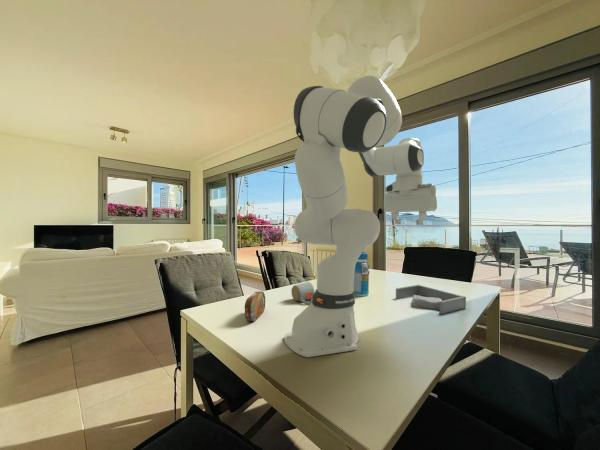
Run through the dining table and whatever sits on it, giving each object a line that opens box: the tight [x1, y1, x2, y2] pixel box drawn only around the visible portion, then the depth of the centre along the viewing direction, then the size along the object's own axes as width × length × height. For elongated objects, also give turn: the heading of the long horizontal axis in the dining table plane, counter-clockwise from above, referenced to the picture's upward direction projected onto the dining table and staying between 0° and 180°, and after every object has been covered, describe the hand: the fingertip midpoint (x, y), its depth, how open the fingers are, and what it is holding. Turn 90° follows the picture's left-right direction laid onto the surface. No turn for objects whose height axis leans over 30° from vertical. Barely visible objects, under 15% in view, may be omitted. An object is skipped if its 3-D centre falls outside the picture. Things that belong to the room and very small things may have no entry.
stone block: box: [411, 295, 442, 311], centre depth 111 cm, size 12×5×10 cm
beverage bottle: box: [353, 251, 370, 297], centre depth 127 cm, size 8×8×20 cm
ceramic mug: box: [291, 281, 315, 305], centre depth 115 cm, size 11×8×8 cm
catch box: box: [395, 284, 467, 315], centre depth 114 cm, size 15×22×4 cm
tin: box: [244, 291, 266, 322], centre depth 97 cm, size 15×3×8 cm, turn 168°
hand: (408, 224), depth 95 cm, fingers open, 8 cm apart
